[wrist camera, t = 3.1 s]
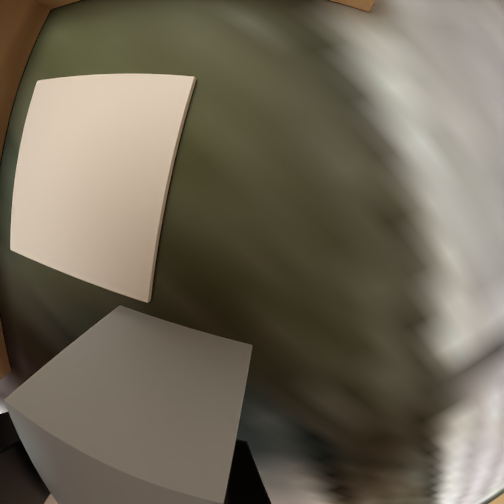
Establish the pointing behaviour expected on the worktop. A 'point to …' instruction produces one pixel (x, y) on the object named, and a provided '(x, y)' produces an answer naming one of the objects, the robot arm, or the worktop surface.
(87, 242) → the pad
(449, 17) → the worktop surface
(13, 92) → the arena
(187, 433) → the block
